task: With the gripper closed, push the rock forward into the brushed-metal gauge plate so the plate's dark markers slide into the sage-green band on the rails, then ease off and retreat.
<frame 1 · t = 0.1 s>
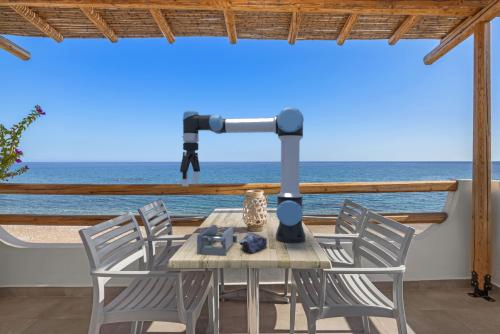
hand: (190, 185, 146), 28 cm above the table, fingers open, 13 cm apart
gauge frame: (220, 247, 135), on the table
gauge plunger: (216, 238, 135), point 4 cm above the table, slide at 0.0 cm
rock: (251, 250, 132), on the table
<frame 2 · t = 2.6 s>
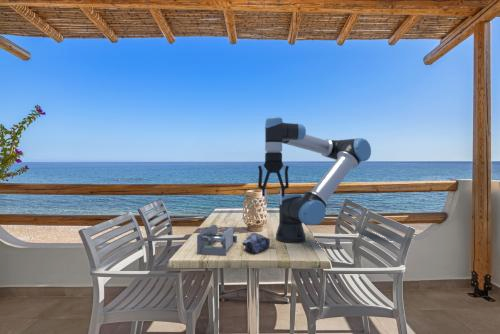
hand: (273, 203, 131), 21 cm above the table, fingers open, 6 cm apart
rock: (254, 250, 132), on the table
everything else where it was.
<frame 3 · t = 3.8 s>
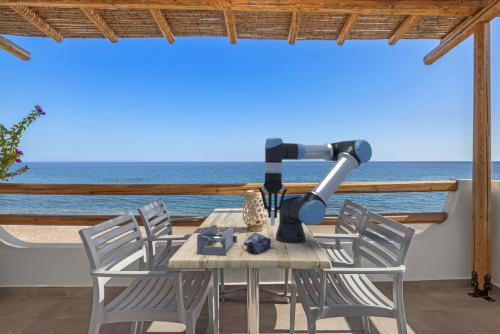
hand: (272, 225, 131), 11 cm above the table, fingers closed
nothing on the table moved.
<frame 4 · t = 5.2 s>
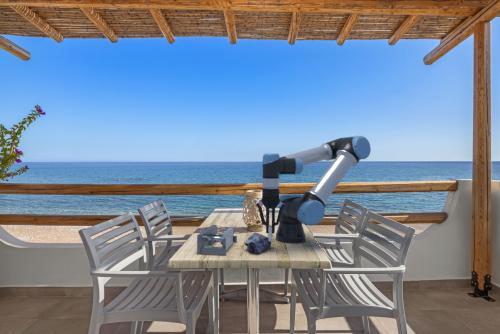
hand: (270, 240, 131), 4 cm above the table, fingers closed
rock: (256, 250, 131), on the table, touching gripper
everything else where it was.
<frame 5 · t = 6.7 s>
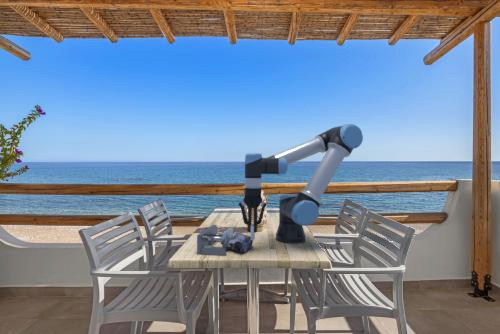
hand: (252, 239, 132), 5 cm above the table, fingers closed
rock: (239, 250, 132), on the table, touching gripper
everything else where it was.
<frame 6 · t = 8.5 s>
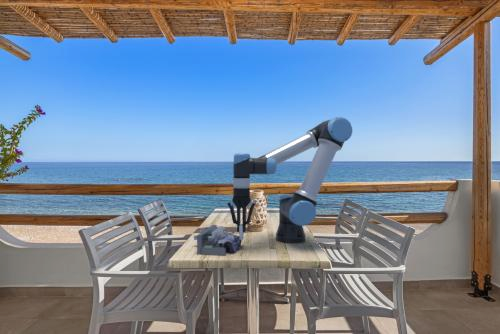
hand: (241, 239, 133), 4 cm above the table, fingers closed
gauge plunger: (206, 237, 136), point 4 cm above the table, slide at 4.9 cm
rock: (229, 249, 133), on the table, touching gripper
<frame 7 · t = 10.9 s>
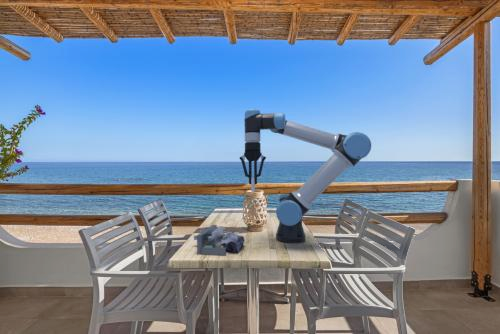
hand: (253, 191, 141), 26 cm above the table, fingers closed
rock: (232, 249, 133), on the table
everything else where it was.
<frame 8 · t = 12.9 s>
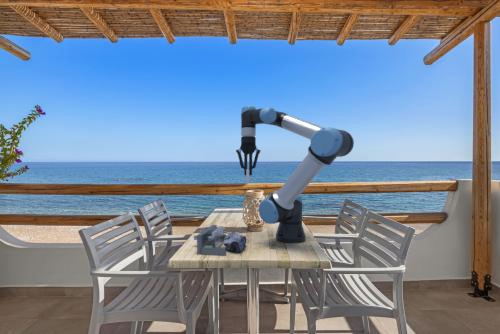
hand: (248, 181, 152), 29 cm above the table, fingers closed
rock: (234, 249, 133), on the table
everything else where it was.
at the end: gauge plunger slide at 4.9 cm; rock moved 7.5 cm from its start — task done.
